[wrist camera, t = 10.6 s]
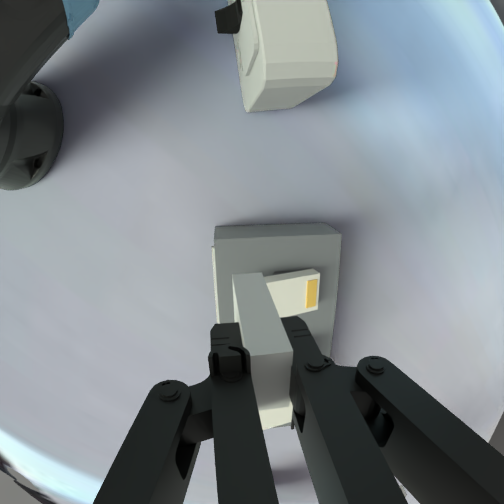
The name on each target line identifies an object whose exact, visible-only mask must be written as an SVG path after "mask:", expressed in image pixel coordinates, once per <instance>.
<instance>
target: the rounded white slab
mask: <svg viewBox="0 0 504 504" xmlns="http://www.w3.org/2000/svg"><path fill="white" fill-rule="evenodd" d="M215 17H216V24H217V31H218V33H223V34H233V38H234V45H235V52H236V58H237V65H238V71H239V78H240V85H241V92H242V98H243V103H244V107H245V110H246V112H248V113H249V112H258V111H268V110H278V109H290V108H293V107H295V106H297V105H298V104H300V103H301V102H303V101H305V100H306V99H308V98H310V97H311V96H313V95H314V94H316V93H318V92H319V91H321V90H323V89H324V88H326V87H328V86H330V85H331V83H332V82H333V80H334V79H335V77H336V74H337V68H338V62H339V61H338V49H337V41H336V37H335V32H334V28H333V23H332V19H331V15H330V11H329V7H328V3H327V0H228V6H227V7H225V8H223V9H220V10H217V11H215Z"/></svg>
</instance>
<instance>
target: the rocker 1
mask: <svg viewBox="0 0 504 504" xmlns="http://www.w3.org/2000/svg"><path fill="white" fill-rule="evenodd" d="M264 279H265V282H266V284H267V287H268V289H269V292H270V294H271V297H272V299H273V302H274V304H275V307H276V309H277V312H278V314H279V317H280V318H281V317H288V316H292V315H297V314H301V313H305V312H309V311H313V310H318V297H319V283H320V273H319V272H317V271H316V270H314V269H307V270H301V271H296V272H290V273H284V274H278V275H272V276H266V277H264Z"/></svg>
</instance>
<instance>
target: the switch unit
mask: <svg viewBox="0 0 504 504" xmlns="http://www.w3.org/2000/svg"><path fill="white" fill-rule="evenodd" d="M341 237H342V234H341V233H339V232H338V231H336V230H335V229H333V228H332V227H331V226H329V225H328V224H326V223H294V224H266V225H242V226H220V227H215V233H214V246H212V259H213V274H214V289H215V302H216V315H217V324H220V323H234V322H235V319H234V301H233V282H232V274H247V273H261V272H262V274H263V277H266V276H272V275H278V274H284V273H290V272H296V271H301V270H307V269H314V270H316V271H317V272H319V273H320V283H319V297H318V310H313V311H309V312H305V313H301V314H297V315H292V316H298V317H299V318H301V319H302V320H304V321H305V322H306V324H307V326H308V328H309V330H310V332H311V334H312V336H313V338H314V340H315V342H316V344H317V345H318V347H319V349H320V351H321V353H322V355H325V356H327V357H329V358H330V352H331V344H332V336H333V328H334V319H335V310H336V301H337V290H338V279H339V267H340V253H341ZM288 317H291V316H288ZM283 426H291V422H289V423H286V424H283V425H279V426H276V427H283ZM272 428H275V427H272Z"/></svg>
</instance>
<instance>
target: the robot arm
mask: <svg viewBox="0 0 504 504" xmlns="http://www.w3.org/2000/svg"><path fill="white" fill-rule="evenodd" d="M98 4H99V0H0V189H3V190H18V189H22V188H26V187H29V186H31V185H33V184H35V183H36V182H38V181H39V180H40V179H41V178H42V177H43V176H44V175H45V174H46V173H47V172H48V170H49V169H50V168H51V166H52V164H53V163H54V161H55V159H56V157H57V154H58V151H59V149H60V145H61V141H62V136H63V114H62V109H61V106H60V103H59V101H58V99H57V97H56V95H55V94H54V93H53V92H52V90H50V89H49V88H48V87H46V86H45V85H42V84H39V83H36V82H33V81H31V80H32V79H33V78H34V77H35V75H36V74H37V73H38V72H39V70H40V69H41V68H42V67H43V66H44V65H45V63H46V62H47V61H48V60H49V59H50V58H51V57H52V55H53V54H54V53H55V52H56V51H57V50H58V49H59V48H60V47H61V46H62V45H63V44H64V43H65V42H66V41H67V40H70V38H72V36H73V35H74V32H75V31H76V30H77V28H78V27H79V26H80V25H81V24H82V23H83V22H84V21H85V20H86V19H87V18H88V17H89V16H90V15H91V14H92V13H93V12H94V11H95V10H96V8H97V6H98ZM232 282H233V301H234V319H235V322H234V323H220V324H215V325H214V326H213V328H212V329H211V331H210V335H211V352H210V353H209V356H208V362H209V369H210V375H209V377H208V378H207V379H206V380H204V381H203V382H201V383H198V384H196V385H192V386H189V387H188V386H187V385H186V384H184V383H183V382H180V381H177V380H166V381H162V382H160V383H158V384H156V385H154V387H153V388H152V389H151V390H150V392H149V394H148V396H147V398H146V400H145V401H144V403H143V405H142V407H141V409H140V411H139V413H138V415H137V417H136V419H135V421H134V423H133V425H132V426H131V428H130V430H129V432H128V434H127V436H126V438H125V440H124V442H123V444H122V446H121V448H120V450H119V452H118V454H117V456H116V458H115V460H114V462H113V464H112V466H111V468H110V470H109V472H108V474H107V476H106V478H105V480H104V482H103V484H102V486H101V488H100V490H99V492H98V494H97V496H96V498H95V500H94V502H93V504H183V502H184V498H185V495H186V492H187V488H188V485H189V482H190V478H191V475H192V472H193V468H194V465H195V462H196V458H197V455H198V452H199V448H200V445H201V441H204V440H207V439H211V438H214V452H215V467H216V480H217V492H218V503H219V504H279V502H278V498H277V493H276V489H275V484H274V480H273V476H272V471H271V467H270V462H269V457H268V453H267V448H266V444H265V439H264V434H263V430H262V425H261V420H260V415H259V411H260V410H269V409H277V408H284V407H289V404H290V399H291V402H292V406H293V410H292V420H291V429H294V425H295V427H296V431H297V434H298V437H299V440H300V444H301V447H302V450H303V453H304V457H305V460H306V463H307V466H308V469H309V473H310V476H311V479H312V482H313V485H314V489H315V492H316V495H317V498H318V501H319V504H408V503H407V501H406V499H405V497H404V495H403V493H402V491H401V489H400V487H399V485H398V483H397V481H396V479H395V477H396V478H397V479H398V480H399V481H400V482H401V484H402V485H403V486H404V487H405V488H406V489H407V490H408V491H409V492H410V493H411V494H412V495H413V496H414V498H415V499H416V500H417V501H418V502H419V503H420V504H504V456H503V455H502V454H501V453H499V452H498V451H497V450H496V449H495V448H493V447H492V446H491V445H490V444H489V443H487V442H486V441H485V440H484V439H483V438H481V437H480V436H479V435H478V434H477V433H475V432H474V431H473V430H472V429H471V428H469V427H468V426H467V425H466V424H465V423H463V422H462V421H461V420H460V419H459V418H457V417H456V416H455V415H454V414H453V413H451V412H450V411H449V410H448V409H447V408H445V407H444V406H443V405H442V404H441V403H439V402H438V401H437V400H436V399H435V398H433V397H432V396H431V395H430V394H429V393H427V392H426V391H425V390H424V389H423V388H421V387H420V386H419V385H418V384H417V383H415V382H414V381H413V380H412V379H410V378H409V377H408V376H407V375H406V374H404V373H403V372H402V371H401V370H400V369H398V368H397V367H396V366H395V365H394V364H392V363H391V362H390V361H388V360H387V359H385V358H382V357H379V356H369V357H365V358H363V359H361V360H360V361H359V363H358V365H357V367H345V366H338V365H335V363H334V362H333V361H332V360H331V358H329V357H327V356H325V355H322V353H321V351H320V349H319V347H318V345H317V344H316V342H315V340H314V338H313V336H312V334H311V332H310V330H309V328H308V326H307V324H306V322H305V321H304V320H302V319H301V318H299V317H298V316H291V317H281V318H280V317H279V314H278V312H277V309H276V307H275V304H274V302H273V299H272V297H271V294H270V292H269V289H268V287H267V284H266V282H265V279H264V277H263V274H262V272H261V273H247V274H232ZM394 476H395V477H394Z"/></svg>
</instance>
